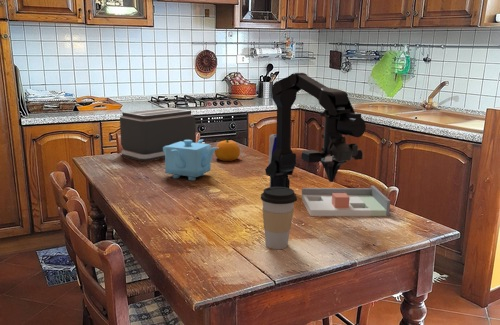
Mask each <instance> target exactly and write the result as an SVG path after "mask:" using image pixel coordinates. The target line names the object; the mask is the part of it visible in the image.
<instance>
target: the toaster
mask: <svg viewBox="0 0 500 325" xmlns="http://www.w3.org/2000/svg"><path fill="white" fill-rule="evenodd" d="M196 122H197V121H196V117H195V116H194V115H193V114H192V110H188V109H184V108H176V107H160V108H159V107H158V108H151V109H150V108H149V109H142V110H140V109H139V110H132V111H130V110H129V111H123V112H122V115H120V116H119V130H120V132H119V134H120V146H121V147H122V149H121V156H122V157H124V158H127V159H131V160H135V161H138V162H151V160H152V161H156V160H155V159H157V160H161V159H160V158H162V159H165V153H164V151H163V147H164V146H168V145H171V144H174V143H177V142H180V141H182V142H184V140H192V143H197V142H196V141H197V140H196V139H197V138H196V137H197V136H196V132H197V131H196V128H197V127H196V124H197V123H196Z"/></svg>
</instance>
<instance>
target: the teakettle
mask: <svg viewBox="0 0 500 325" xmlns="http://www.w3.org/2000/svg"><path fill="white" fill-rule="evenodd" d="M203 142H204V139H201V138H200V139H199V140H198V141H197V142H195V143H192V140H184V142H182V141H180V142H177V143H174V144H171V145H168V146H164V147H163V151H164V153H165V158H164V163H165V164H164V165H165V167H164V169H165V170H164V171H165V174H168V175H172V177H171V178H172V179H179V178H180V177H181V176H185V177H187V180H188V181H196V178H199V177H204V176H205V174H206V173H208V172H210V171H211V167H212V166H211V165H212V164H211V162H212V158H213V155H214V153H215V150H216V149H218V147H216V146H214V147H212V146H211V144H209V143H203Z"/></svg>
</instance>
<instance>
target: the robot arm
mask: <svg viewBox="0 0 500 325" xmlns="http://www.w3.org/2000/svg"><path fill="white" fill-rule="evenodd" d="M301 90H302V91H304V92H305V93H307V94H308V95H310V96H312V97H314V98H315V99H316V100H317V101H318V104H319V105H320V106H321V108H323V109H324V110H323V111H322V112H321V113H320V114H319V116H320V117H324V130H323V133H324V134H321V138H322V139H323V147H321V150H320V151H321V152H319V151H317V150H315V149H306V150H303V151H302V152H301V158H300V159H301V160H302V161H304V162H305V161H306V162H307V163H311V164H312V163H313V164H314V163H321V165H322V167H323V168H324V171H325V173H326V177H327V179H328V182H330V183H333V182H334V181H335V178H336V175H337V173H338V171H339V169H340V167H341V166H342V165H343V164H346V163H347V161H348V162H350V161H352V159H353V160H355V161H356V160H363V159H364V153H363V150H362V149H360V148H359V144H357V143H354V142H353V143H346V137H345V136H348V137H353V138H361V137H362V136H363V135H364V133H365V132H366V128H367V126H366V121H365V120H364V118H362V113H356V112H355V110H354V107H353V105H352V103H351V101H350V98H349V97H348V96H349V95H348V93H347V92H346V91H344V90H342V89H337V88H332V87H328V86H326V85H324V84H323V83H322V82H319V81H318V80H316V79H314V78H312V77H310V76H309V75H308V74H307V73H305V72H293V73H291V74H290V75H289V76H286V77H284V78H282V79H279V80H277V81H275V82H274V83H273V84H272V86H271V96H272V97H271V98H272V101H273V102H274V104H275V107H276V131H275V132H276V133H275V134H276V149H275V151H274V152H273V154H272V157H271V163H270V164H269V163H268V165H267V167H266V168H265V170H264V171H265V175H266V176H267V177H269V187H286V188H290V181H291V180H290V178H289V176H293V174H294V170H295V169H296V168H295V167H296V165H297V161H296V160H297V153H295V152H293V150H292V148H291V137H292V136H291V132H292V106H294V104H295V101H296V99H297V96H298V95H297V93H298V92H299V91H301ZM344 135H345V136H344Z"/></svg>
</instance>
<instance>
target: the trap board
mask: <svg viewBox="0 0 500 325" xmlns="http://www.w3.org/2000/svg"><path fill="white" fill-rule="evenodd" d="M332 193H346V194H347V195H348V196H349V197H350V198H349V208H334V206H333V205H332ZM301 201H302V203H303V205H304V207H305V209H306V210H307V212H308V213H309V216H310V217H390V212H391V200H390V199H389V198H388V197H387V196H386V195H385V194H383V193H382V191H380V190H379V188H377V187H376V186H375V185H370V188H368V187H367V188H364V187H360V188H359V187H357V188H355V187H351V188H350V187H344V188H343V187H302V188H301Z"/></svg>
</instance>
